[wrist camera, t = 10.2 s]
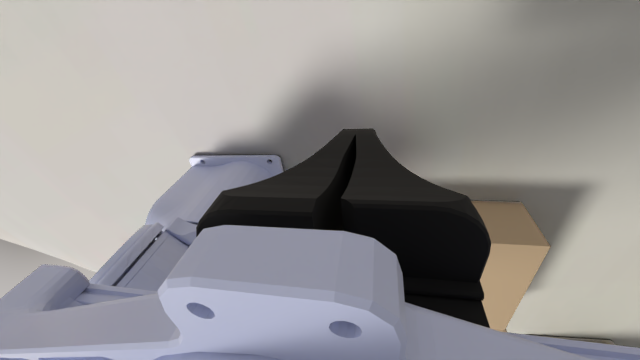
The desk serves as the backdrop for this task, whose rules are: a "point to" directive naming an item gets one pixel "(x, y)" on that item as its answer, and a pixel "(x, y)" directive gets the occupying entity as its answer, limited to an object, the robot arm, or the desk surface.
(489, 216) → the carton
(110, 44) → the desk surface
